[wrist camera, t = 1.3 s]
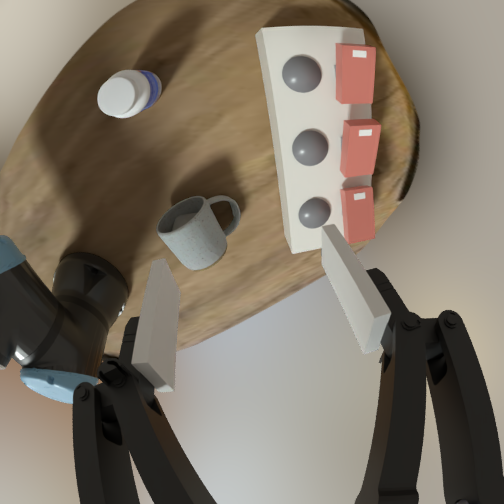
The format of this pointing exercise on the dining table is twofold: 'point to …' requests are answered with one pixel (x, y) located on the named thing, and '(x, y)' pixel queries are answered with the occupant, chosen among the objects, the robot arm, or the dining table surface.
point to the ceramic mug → (196, 231)
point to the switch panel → (308, 126)
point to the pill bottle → (129, 93)
